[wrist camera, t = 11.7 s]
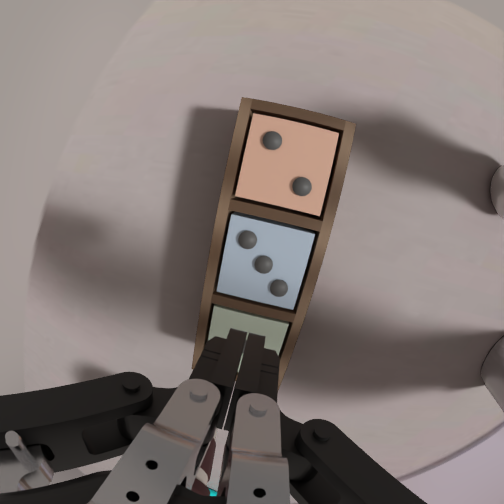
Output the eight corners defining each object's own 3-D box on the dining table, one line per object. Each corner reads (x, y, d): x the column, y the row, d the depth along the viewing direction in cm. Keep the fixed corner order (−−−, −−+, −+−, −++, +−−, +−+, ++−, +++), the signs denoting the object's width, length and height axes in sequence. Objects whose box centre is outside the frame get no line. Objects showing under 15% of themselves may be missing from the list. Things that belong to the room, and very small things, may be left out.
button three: (292, 295, 25) (293, 310, 22) (223, 278, 26) (216, 292, 23) (311, 227, 24) (315, 234, 21) (237, 209, 24) (231, 214, 21)
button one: (271, 361, 28) (269, 380, 25) (211, 346, 28) (203, 364, 25) (288, 308, 26) (288, 325, 23) (221, 292, 26) (213, 307, 23)
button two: (315, 211, 23) (320, 216, 20) (241, 193, 24) (234, 196, 20) (332, 138, 21) (339, 132, 18) (257, 120, 22) (253, 112, 19)
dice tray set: (279, 360, 30) (278, 390, 25) (204, 342, 30) (191, 368, 25) (342, 133, 23) (356, 123, 18) (250, 111, 23) (241, 97, 19)
